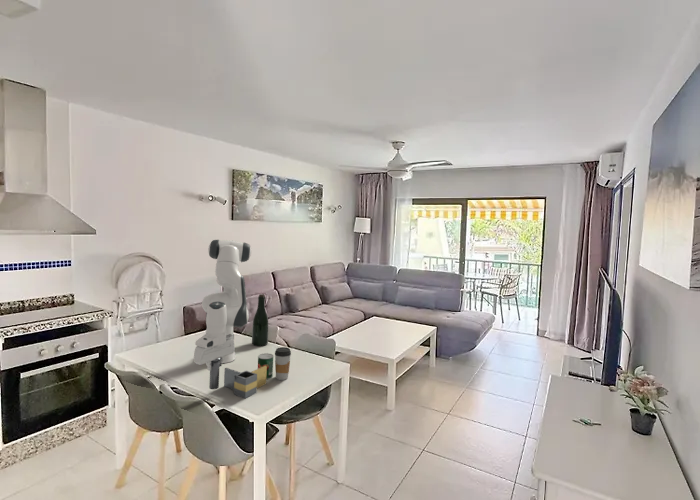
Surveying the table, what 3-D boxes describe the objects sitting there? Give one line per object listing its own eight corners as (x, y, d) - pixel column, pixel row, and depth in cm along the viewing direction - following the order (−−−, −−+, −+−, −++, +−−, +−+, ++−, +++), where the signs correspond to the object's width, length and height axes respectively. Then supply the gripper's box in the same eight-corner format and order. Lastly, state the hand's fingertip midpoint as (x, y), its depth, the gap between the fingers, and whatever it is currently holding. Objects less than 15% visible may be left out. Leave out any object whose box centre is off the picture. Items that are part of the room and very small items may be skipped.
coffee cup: (286, 381, 191) (287, 353, 190) (271, 379, 193) (272, 351, 192) (292, 375, 200) (293, 348, 199) (277, 373, 201) (278, 346, 200)
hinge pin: (205, 387, 171) (206, 357, 170) (214, 383, 176) (215, 354, 175) (213, 391, 169) (214, 360, 168) (222, 387, 173) (223, 357, 172)
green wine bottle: (265, 347, 242) (267, 296, 240) (249, 346, 242) (251, 295, 240) (269, 342, 252) (271, 293, 250) (254, 341, 253) (256, 292, 251)
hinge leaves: (218, 388, 180) (219, 370, 179) (245, 376, 195) (245, 359, 194) (245, 398, 172) (246, 379, 171) (270, 385, 186) (271, 367, 186)
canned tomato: (256, 379, 192) (256, 358, 192) (258, 373, 200) (259, 353, 200) (271, 379, 193) (272, 358, 192) (273, 373, 201) (274, 353, 200)
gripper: (228, 331, 181) (227, 359, 182) (192, 342, 163) (191, 373, 164) (238, 334, 178) (237, 362, 179) (201, 345, 160) (200, 377, 161)
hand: (214, 368), depth 171 cm, fingers closed on hinge pin, 4 cm apart
